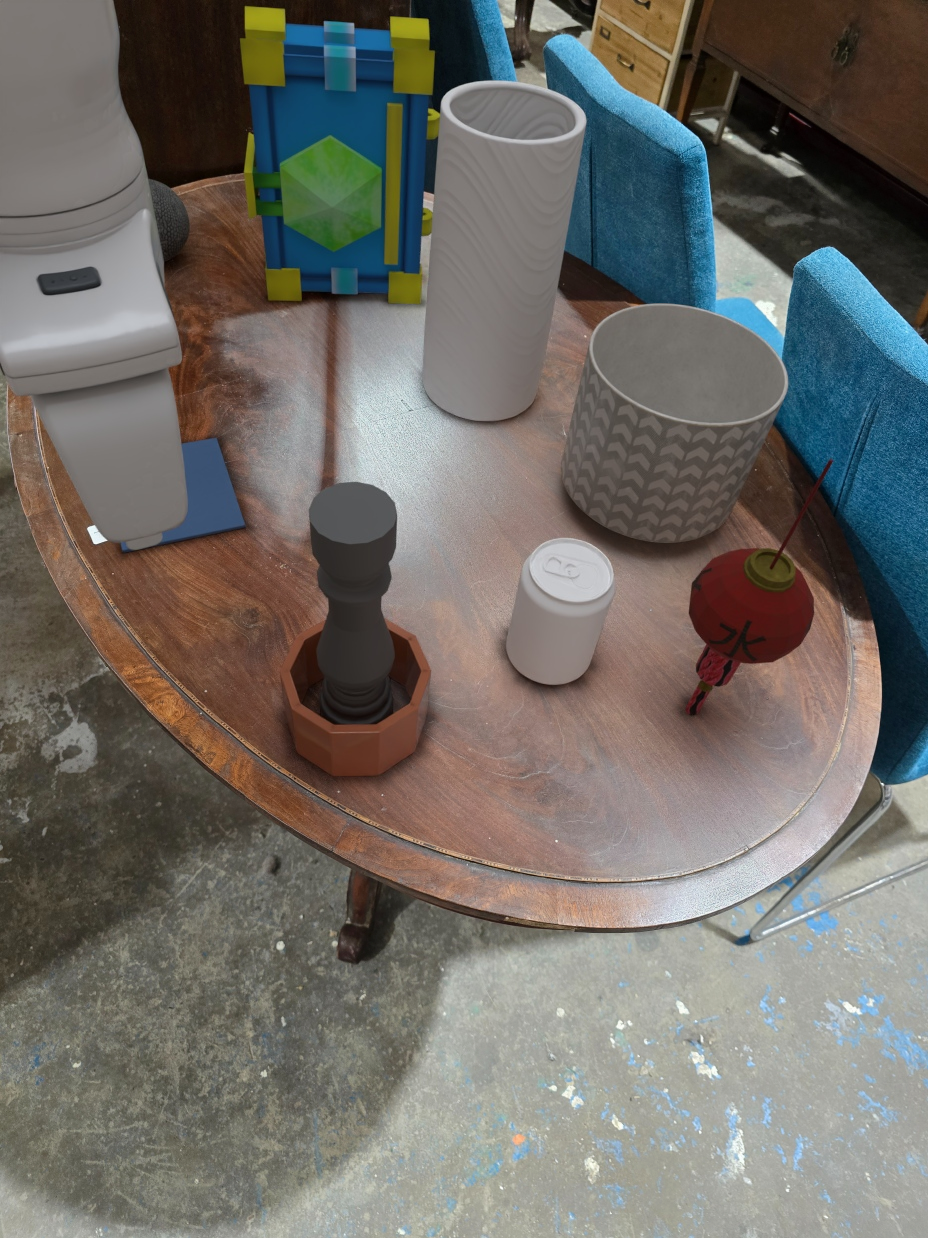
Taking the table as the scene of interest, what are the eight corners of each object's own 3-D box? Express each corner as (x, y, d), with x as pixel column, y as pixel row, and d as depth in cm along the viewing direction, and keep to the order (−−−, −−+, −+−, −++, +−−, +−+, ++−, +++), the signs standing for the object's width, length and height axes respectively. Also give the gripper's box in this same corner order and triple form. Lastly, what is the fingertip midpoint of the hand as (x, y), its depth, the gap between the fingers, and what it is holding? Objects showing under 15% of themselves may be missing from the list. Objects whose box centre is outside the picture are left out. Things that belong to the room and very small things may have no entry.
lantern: (658, 653, 82) (774, 396, 59) (753, 692, 80) (914, 443, 57) (627, 728, 77) (742, 477, 53) (729, 773, 75) (895, 533, 51)
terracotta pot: (310, 796, 70) (305, 754, 64) (273, 678, 77) (266, 631, 71) (443, 755, 73) (449, 712, 68) (397, 646, 80) (399, 598, 75)
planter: (612, 583, 87) (660, 444, 73) (525, 463, 97) (553, 321, 83) (760, 535, 94) (830, 399, 79) (664, 427, 104) (711, 289, 89)
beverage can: (577, 700, 78) (606, 619, 69) (493, 671, 79) (510, 586, 70) (599, 635, 83) (629, 551, 74) (520, 608, 84) (539, 522, 75)
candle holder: (308, 731, 74) (286, 526, 54) (341, 677, 77) (332, 467, 58) (373, 758, 73) (375, 560, 53) (404, 702, 76) (416, 497, 57)
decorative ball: (109, 274, 113) (91, 198, 105) (127, 235, 119) (111, 160, 112) (187, 280, 114) (174, 205, 106) (201, 241, 120) (189, 167, 112)
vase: (556, 416, 103) (615, 138, 78) (443, 434, 99) (469, 149, 74) (511, 346, 111) (553, 75, 86) (405, 361, 107) (417, 81, 82)
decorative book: (262, 252, 120) (236, -2, 96) (427, 258, 123) (441, 12, 99) (257, 311, 111) (228, 46, 87) (434, 315, 114) (452, 61, 91)
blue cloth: (123, 553, 84) (122, 550, 84) (103, 460, 92) (102, 457, 91) (245, 527, 88) (245, 524, 87) (217, 440, 95) (216, 437, 95)
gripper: (-66, 134, 40) (25, 380, 51) (8, 390, 30) (103, 632, 40) (74, 120, 43) (133, 359, 53) (190, 354, 32) (235, 593, 43)
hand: (121, 479), depth 47 cm, fingers open, 8 cm apart
